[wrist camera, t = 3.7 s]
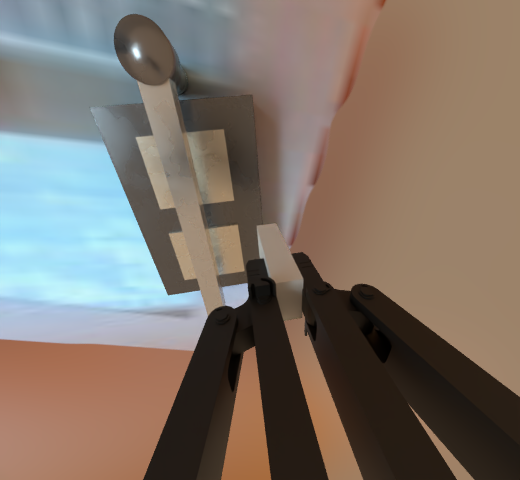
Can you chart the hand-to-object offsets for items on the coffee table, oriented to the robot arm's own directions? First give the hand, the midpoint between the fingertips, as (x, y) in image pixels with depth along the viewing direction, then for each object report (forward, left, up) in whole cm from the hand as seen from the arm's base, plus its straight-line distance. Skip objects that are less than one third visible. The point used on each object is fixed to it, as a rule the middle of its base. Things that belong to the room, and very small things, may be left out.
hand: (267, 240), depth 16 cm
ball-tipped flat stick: (-1, -6, -6) cm, 9 cm away
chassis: (-1, -6, -12) cm, 13 cm away
